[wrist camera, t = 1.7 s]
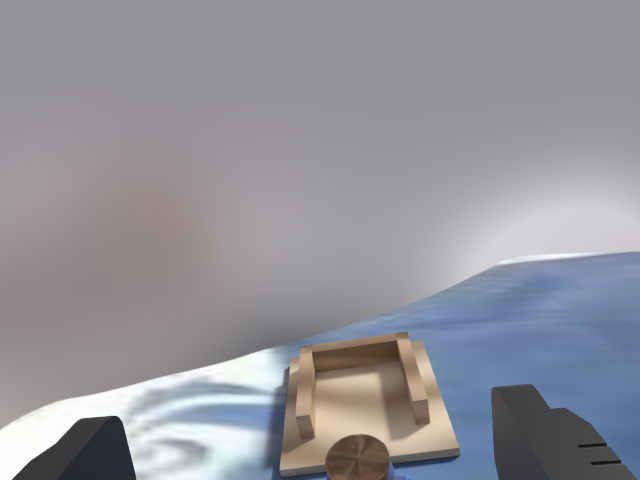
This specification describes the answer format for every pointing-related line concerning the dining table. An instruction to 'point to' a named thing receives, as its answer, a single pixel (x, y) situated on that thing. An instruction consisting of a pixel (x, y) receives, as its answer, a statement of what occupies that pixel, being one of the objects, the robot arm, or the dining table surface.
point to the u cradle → (364, 402)
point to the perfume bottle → (360, 460)
